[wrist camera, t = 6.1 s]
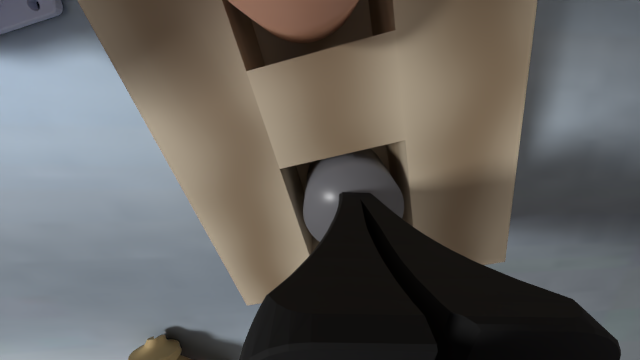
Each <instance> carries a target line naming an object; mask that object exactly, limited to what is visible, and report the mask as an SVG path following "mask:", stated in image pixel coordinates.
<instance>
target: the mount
mask: <svg viewBox="0 0 640 360" xmlns="http://www.w3.org/2000/svg"><path fill="white" fill-rule="evenodd" d="M77 1H78V3H79V4H80V6H81V8H82V10H83V12H84V13H85V15H86V17H87V19H88V21H89V22H90V24H91V26H92V28H93V30H94V31H95V33H96V35H97V37H98V38H99V40H100V42H101V44H102V46H103V47H104V49H105V51H106V53H107V55H108V56H109V58H110V60H111V62H112V64H113V65H114V67H115V69H116V71H117V73H118V74H119V76H120V78H121V80H122V82H123V83H124V85H125V87H126V89H127V91H128V92H129V94H130V96H131V98H132V100H133V101H134V103H135V105H136V107H137V109H138V110H139V112H140V114H141V116H142V118H143V119H144V121H145V123H146V125H147V127H148V128H149V130H150V132H151V134H152V136H153V137H154V139H155V141H156V143H157V144H158V146H159V148H160V150H161V152H162V153H163V155H164V157H165V159H166V161H167V162H168V164H169V166H170V168H171V170H172V171H173V173H174V175H175V177H176V179H177V180H178V182H179V184H180V186H181V188H182V189H183V191H184V193H185V195H186V197H187V198H188V200H189V202H190V204H191V206H192V207H193V209H194V211H195V213H196V215H197V216H198V218H199V220H200V222H201V224H202V225H203V227H204V229H205V231H206V233H207V234H208V236H209V238H210V240H211V242H212V243H213V245H214V247H215V249H216V250H217V252H218V254H219V256H220V258H221V259H222V261H223V263H224V265H225V267H226V268H227V270H228V272H229V274H230V276H231V277H232V279H233V281H234V283H235V285H236V286H237V288H238V290H239V292H240V294H241V295H242V297H243V299H244V301H245V303H246V304H247V305H253V304H259V303H262V302H263V300H264V298H265V297H266V295H267V294H269V293H270V292H271V291H272V290H273V289H275V288H276V287H277V286H278V285H279V284H281V283H282V282H283V281H284V280H285V279H287V278H288V277H289V276H290V275H291V274H292V273H293V272H294V271H295V270H296V269H297V268H298V267H299V266H300V265H301V264H302V263H303V262H304V261H305V260H306V259H307V258H308V257H309V256H310V254H311V253H312V252H313V251H314V249H315V248H316V247H317V245H318V244H319V243H320V242H319V241H318V240H317V239H316V238H314V237H313V235H312V234H311V233H310V232H309V230H308V228H307V226H306V224H305V221H304V216H303V206H304V198H305V189H306V181H307V173H308V169H309V166H310V164H311V162H312V161H317V160H321V159H325V158H330V157H334V156H338V155H343V154H347V153H351V152H356V151H360V150H365V149H369V148H370V149H371V150H373V151H374V152H375V153H376V154H377V156H378V157H379V158H380V160H381V161H382V163H383V164H384V166H385V167H386V169H387V170H388V172H389V173H390V175H391V176H392V178H393V179H394V181H395V182H396V184H397V185H398V187H399V188H400V190H401V193H402V195H403V199H404V213H403V217H402V219H403V220H404V221H406V222H407V223H409V224H410V225H411V226H413V227H414V228H416V229H417V230H419V231H420V232H422V233H423V234H425V235H426V236H428V237H430V238H431V239H433V240H435V241H436V242H438V243H440V244H442V245H443V246H445V247H447V248H449V249H451V250H453V251H455V252H457V253H459V254H461V255H463V256H465V257H467V258H469V259H471V260H473V261H475V262H477V263H479V264H482V265H488V264H494V263H500V262H505V257H506V249H507V241H508V233H509V225H510V217H511V209H512V201H513V193H514V185H515V177H516V169H517V161H518V153H519V145H520V137H521V129H522V121H523V113H524V105H525V97H526V89H527V81H528V73H529V65H530V56H531V48H532V40H533V32H534V24H535V16H536V8H537V0H359V1H358V3H357V5H356V7H355V9H354V10H353V12H352V13H351V15H350V16H349V18H348V19H347V20H346V21H345V23H344V24H343V25H342V26H341V27H340V28H339V29H338V30H336V31H335V32H334V33H332V34H331V35H329V36H327V37H326V38H324V39H321V40H318V41H315V42H310V43H294V42H289V41H285V40H283V39H280V38H278V37H276V36H275V35H273V34H271V33H270V32H268V31H267V30H266V29H264V28H263V27H262V26H260V25H259V24H258V23H256V22H255V21H254V20H252V19H251V18H250V17H248V16H247V15H246V14H244V13H243V12H242V11H240V10H239V9H238V8H236V7H235V6H234V5H232V4H231V3H230V2H229V1H228V0H77Z"/></svg>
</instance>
